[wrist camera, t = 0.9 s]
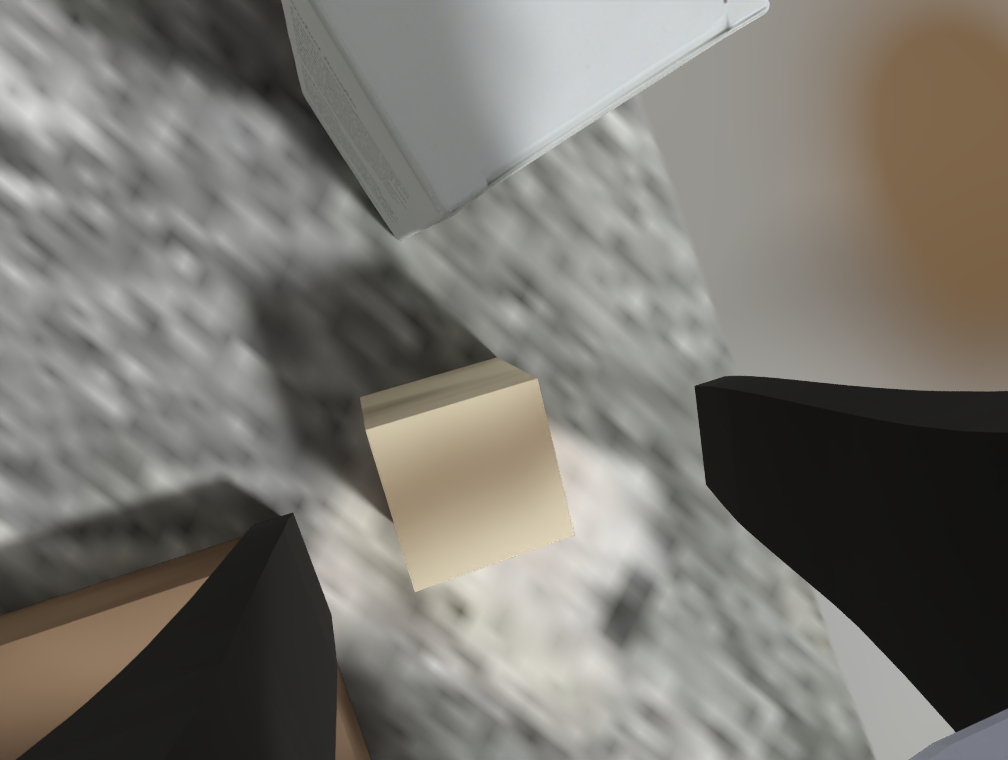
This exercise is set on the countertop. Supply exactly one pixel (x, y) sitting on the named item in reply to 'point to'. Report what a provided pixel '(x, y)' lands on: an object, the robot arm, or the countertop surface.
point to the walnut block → (105, 649)
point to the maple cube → (467, 469)
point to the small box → (480, 83)
